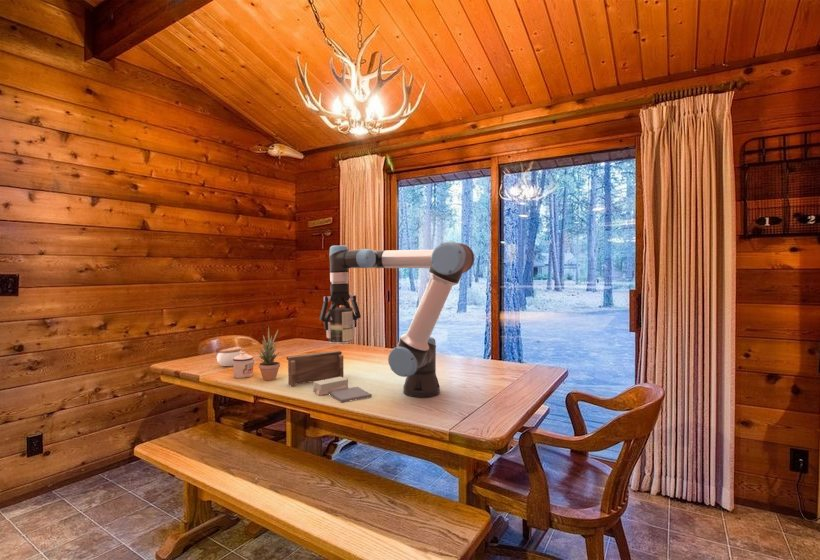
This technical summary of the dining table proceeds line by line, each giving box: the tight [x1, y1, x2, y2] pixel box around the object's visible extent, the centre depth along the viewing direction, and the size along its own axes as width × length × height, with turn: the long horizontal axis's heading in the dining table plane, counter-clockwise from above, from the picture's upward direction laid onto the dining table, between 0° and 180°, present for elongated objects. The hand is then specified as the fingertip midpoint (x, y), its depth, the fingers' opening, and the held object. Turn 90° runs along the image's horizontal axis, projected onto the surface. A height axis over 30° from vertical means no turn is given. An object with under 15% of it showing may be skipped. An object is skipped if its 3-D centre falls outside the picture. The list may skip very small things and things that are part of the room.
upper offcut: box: [312, 377, 349, 391], centre depth 176 cm, size 6×13×2 cm, turn 132°
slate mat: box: [328, 386, 372, 403], centre depth 170 cm, size 13×13×1 cm
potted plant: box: [258, 326, 281, 381], centre depth 196 cm, size 10×10×25 cm
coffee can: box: [327, 306, 354, 345], centre depth 174 cm, size 10×10×14 cm
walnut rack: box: [286, 350, 345, 388], centre depth 191 cm, size 6×25×12 cm, turn 122°
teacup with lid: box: [232, 351, 255, 379], centre depth 202 cm, size 12×9×12 cm
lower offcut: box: [312, 384, 349, 396], centre depth 176 cm, size 6×13×2 cm, turn 125°
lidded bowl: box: [215, 344, 242, 367], centre depth 224 cm, size 13×13×11 cm
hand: (340, 336), depth 174 cm, fingers closed on coffee can, 10 cm apart
